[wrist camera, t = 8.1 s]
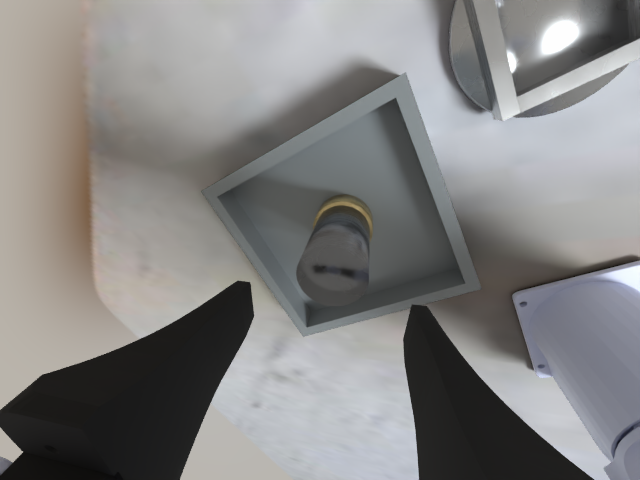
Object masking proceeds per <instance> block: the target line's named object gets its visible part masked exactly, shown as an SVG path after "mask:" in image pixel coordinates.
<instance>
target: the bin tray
mask: <svg viewBox="0 0 640 480" xmlns="http://www.w3.org/2000/svg"><path fill="white" fill-rule="evenodd" d="M201 192H202V194H203V195H204V196H205V198H206V199H207V201H208V202H209V203H210V205H211V206H212V208H213V209H214V211H215V212H216V213H217V215H218V216H219V218H220V219H221V221H222V222H223V223H224V225H225V226H226V228H227V229H228V230H229V232H230V233H231V235H232V236H233V238H234V239H235V240H236V242H237V243H238V245H239V246H240V248H241V249H242V250H243V252H244V253H245V255H246V256H247V257H248V259H249V260H250V262H251V263H252V265H253V266H254V267H255V269H256V270H257V272H258V273H259V275H260V276H261V277H262V279H263V280H264V282H265V283H266V285H267V286H268V287H269V289H270V290H271V292H272V293H273V294H274V296H275V297H276V299H277V300H278V302H279V303H280V304H281V306H282V307H283V309H284V310H285V312H286V313H287V314H288V316H289V317H290V319H291V320H292V321H293V323H294V324H295V326H296V327H297V329H298V330H299V331H300V333H301V334H302V336H303V337H304V336H308V335H311V334H315V333H319V332H323V331H326V330H330V329H334V328H338V327H341V326H345V325H349V324H353V323H356V322H360V321H364V320H368V319H371V318H375V317H379V316H383V315H386V314H390V313H394V312H398V311H401V310H405V309H409V308H411V306H412V304H413V305H424V304H428V303H431V302H435V301H439V300H443V299H446V298H450V297H454V296H458V295H461V294H465V293H469V292H473V291H476V290H480V289H482V288H481V285H480V282H479V280H478V277H477V274H476V271H475V268H474V265H473V263H472V260H471V257H470V254H469V251H468V248H467V245H466V243H465V240H464V237H463V234H462V231H461V228H460V226H459V223H458V220H457V217H456V214H455V211H454V208H453V206H452V203H451V200H450V197H449V194H448V191H447V188H446V186H445V183H444V180H443V177H442V174H441V171H440V169H439V166H438V163H437V160H436V157H435V154H434V151H433V149H432V146H431V143H430V140H429V137H428V134H427V132H426V129H425V126H424V123H423V120H422V117H421V114H420V112H419V109H418V106H417V103H416V100H415V97H414V94H413V92H412V89H411V86H410V83H409V80H408V77H407V75H406V72H405V73H404V74H402V75H400V76H398V77H397V78H395V79H393V80H392V81H390V82H388V83H386V84H385V85H383V86H381V87H380V88H378V89H376V90H374V91H373V92H371V93H369V94H367V95H366V96H364V97H362V98H361V99H359V100H357V101H355V102H354V103H352V104H350V105H349V106H347V107H345V108H343V109H342V110H340V111H338V112H337V113H335V114H333V115H331V116H330V117H328V118H326V119H324V120H323V121H321V122H319V123H318V124H316V125H314V126H312V127H311V128H309V129H307V130H306V131H304V132H302V133H300V134H299V135H297V136H295V137H294V138H292V139H290V140H288V141H287V142H285V143H283V144H282V145H280V146H278V147H276V148H275V149H273V150H271V151H269V152H268V153H266V154H264V155H263V156H261V157H259V158H257V159H256V160H254V161H252V162H251V163H249V164H247V165H245V166H244V167H242V168H240V169H239V170H237V171H235V172H233V173H232V174H230V175H228V176H226V177H225V178H223V179H221V180H220V181H218V182H216V183H214V184H213V185H211V186H209V187H208V188H206V189H204V190H202V191H201ZM342 194H347V195H352V196H355V197H358V198H359V199H361V200H362V201H364V202H365V203H366V204H367V206H368V207H369V209H370V210H371V213H372V217H373V235H372V239H371V241H370V248H369V284H368V287H367V290H366V291H365V293H364V294H363V296H362V297H361V298H360V299H358V300H357V301H355V302H353V303H351V304H348V305H345V306H328V305H323V304H320V303H318V302H316V301H314V300H312V299H311V298H309V297H308V296H307V295H306V294H305V293H304V292H303V290H302V289H301V288H300V286H299V284H298V281H297V277H296V269H297V265H298V263H299V261H300V258H301V256H302V254H303V252H304V249H305V247H306V245H307V243H308V240H309V238H310V236H311V234H312V231H313V223H314V220H315V217H316V215H317V213H318V211H319V209H320V207H321V206H322V204H323V203H324V202H325V201H326V200H328V199H329V198H331V197H333V196H336V195H342Z"/></svg>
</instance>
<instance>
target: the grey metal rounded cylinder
mask: <svg viewBox="0 0 640 480" xmlns="http://www.w3.org/2000/svg"><path fill="white" fill-rule="evenodd" d="M372 235H373V217H372V213H371V210H370V209H369V207H368V206H367V204H366V203H365V202H364V201H362V200H361V199H359V198H358V197H355V196H352V195H347V194H342V195H336V196H333V197H331V198H329V199H328V200H326V201H325V202H324V203H323V204H322V206H321V207H320V209H319V211H318V213H317V215H316V217H315V220H314V223H313V231H312V234H311V236H310V238H309V240H308V243H307V245H306V247H305V249H304V252H303V254H302V256H301V258H300V261H299V263H298V265H297V269H296V277H297V281H298V284H299V286H300V288H301V289H302V290H303V292H304V293H305V294H306V295H307V296H308V297H309V298H311V299H312V300H314V301H316V302H318V303H320V304H323V305H328V306H345V305H348V304H351V303H353V302H355V301H357V300H358V299H360V298H361V297H362V296H363V294H364V293H365V291H366V290H367V287H368V284H369V248H370V241H371V239H372Z"/></svg>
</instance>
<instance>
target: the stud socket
mask: <svg viewBox="0 0 640 480" xmlns="http://www.w3.org/2000/svg"><path fill="white" fill-rule="evenodd" d="M448 46H449V57H450V62H451V66H452V70H453V73H454V75H455V78H456V80H457V82H458V84H459V86H460V88H461V89H462V90H463V92H464V93H465V94H466V95H467V97H468V98H469V99H471V100H472V101H473V102H474V103H475V104H477V105H478V106H480V107H481V108H483V109H485V110H487V111H489V112H492V114H493V118H494V120H500V121H504V120H506V119H508V118H510V117H535V116H542V115H546V114H550V113H554V112H557V111H560V110H562V109H565V108H568V107H570V106H572V105H574V104H576V103H578V102H580V101H582V100H584V99H586V98H587V97H589V96H590V95H592V94H594V93H595V92H597V91H598V90H600V89H601V88H602V87H604V86H605V85H606V84H608V83H609V82H610V81H611V80H612V79H614V78H615V77H616V76H617V75H618V74H619V73H620V72H621V71H623V70H624V68H625V67H626V66H627V65H628V64H629V63H631V62H633V61H635V60H637V59H639V58H640V0H455V3H454V7H453V11H452V15H451V20H450V27H449V41H448Z"/></svg>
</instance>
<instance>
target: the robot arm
mask: <svg viewBox="0 0 640 480" xmlns="http://www.w3.org/2000/svg"><path fill="white" fill-rule="evenodd" d="M512 299H513V302H514V306H515V309H516V312H517V315H518V319H519V322H520V325H521V329H522V332H523V335H524V338H525V342H526V345H527V348H528V352H529V355H530V358H531V361H532V365H533V368H534V371H535V373H536V375H537V376H538V377H541V378H546V377H553V378H554V380H555V381H556V383H557V384H558V386H559V387H560V389H561V390H562V392H563V394H564V395H565V397H566V398H567V400H568V401H569V403H570V404H571V406H572V407H573V409H574V411H575V412H576V414H577V415H578V417H579V418H580V420H581V421H582V423H583V424H584V426H585V428H586V429H587V431H588V432H589V434H590V435H591V437H592V438H593V440H594V441H595V443H596V445H597V446H598V447H599V449H600V450H601V451H602V453H603V454H604V455H605V456H606V457H607V458H608V459H609V460H610V461H611V463H610V464H609V465H607V466H605V467H604V470H605V472H606V474H607V475H608V477H609V478H610V480H640V261H636V262H632V263H628V264H624V265H620V266H616V267H612V268H608V269H604V270H600V271H596V272H592V273H588V274H584V275H580V276H576V277H572V278H569V279H565V280H561V281H557V282H553V283H549V284H545V285H541V286H537V287H533V288H529V289H525V290H521V291H517V292H515V293H514V294H513V295H512ZM521 302H524V303H521ZM253 317H254V311H253V302H252V293H251V284H250V282H244V281H237V282H235V283H233V284H232V285H230V286H229V287H228V288H226V289H225V290H223V291H222V292H220V293H219V294H217V295H216V296H214V297H213V298H211V299H210V300H208V301H207V302H205V303H204V304H203V305H201V306H199V307H198V308H196V309H195V310H193V311H191V312H190V313H188V314H186V315H185V316H183V317H182V318H180V319H178V320H177V321H175V322H173V323H171V324H169V325H168V326H166V327H164V328H162V329H160V330H158V331H156V332H154V333H152V334H150V335H148V336H146V337H144V338H141V339H139V340H137V341H135V342H133V343H130V344H128V345H126V346H124V347H121V348H119V349H116V350H114V351H111V352H109V353H106V354H104V355H101V356H98V357H96V358H93V359H91V360H87V361H85V362H82V363H79V364H76V365H72V366H69V367H66V368H63V369H60V370H57V371H53V372H50V373H47V374H43V375H42V376H40V377H39V378H38V379H37V380H36V381H34V382H33V383H32V384H31V385H30V386H28V387H27V388H26V389H25V390H24V391H22V392H21V393H20V394H19V395H18V396H17V397H15V398H14V399H13V400H12V401H10V402H9V403H8V404H7V405H6V406H4V407H3V408H2V409H1V410H0V427H1V428H2V430H3V431H4V432H5V433H6V434H7V435H8V436H9V437H10V438H11V440H12V441H13V442H14V443H15V444H16V445H17V446H18V447H19V448H20V449H21V450H22V451H23V453H22V454H21V455H20V456H19V457H18V458H17V459H16V460H15V461H14V462H13V463H12V462H11V461H9V460H7V459H5V458H3V457H0V480H180V477H181V474H182V472H183V469H184V466H185V464H186V461H187V458H188V456H189V454H190V451H191V448H192V446H193V443H194V441H195V438H196V436H197V434H198V431H199V429H200V426H201V424H202V422H203V419H204V416H205V414H206V412H207V410H208V407H209V405H210V403H211V401H212V399H213V396H214V394H215V392H216V390H217V388H218V386H219V384H220V382H221V380H222V378H223V376H224V375H225V373H226V371H227V369H228V368H229V366H230V364H231V362H232V360H233V359H234V357H235V355H236V353H237V352H238V350H239V348H240V346H241V344H242V343H243V341H244V339H245V337H246V335H247V333H248V330H249V328H250V325H251V323H252V320H253ZM403 341H404V361H405V368H406V374H407V380H408V386H409V392H410V397H411V403H412V409H413V415H414V422H415V429H416V441H417V454H418V468H419V480H594V479H593V478H591V477H590V476H589V475H587V474H586V473H585V472H584V471H582V470H581V469H580V468H578V467H577V466H576V465H575V464H573V463H572V462H571V461H569V460H568V459H567V458H566V457H564V456H563V455H562V454H561V453H560V452H558V451H557V450H556V449H555V448H554V447H553V446H551V445H550V444H549V443H548V442H547V441H545V440H544V439H543V438H542V437H541V436H540V435H538V434H537V433H536V432H535V431H534V430H533V429H532V428H531V427H529V426H528V425H527V424H526V423H525V422H524V421H523V420H522V419H521V418H520V417H519V416H518V415H517V414H515V413H514V412H513V411H512V410H511V409H510V408H509V407H508V406H507V405H506V404H505V403H504V402H503V401H502V400H501V399H500V398H499V397H498V396H497V395H496V394H495V393H494V392H493V391H492V390H491V389H490V388H489V386H488V385H487V384H486V383H485V382H484V381H483V380H482V379H481V378H480V377H479V376H478V374H477V373H476V372H475V371H474V370H473V369H472V367H471V366H470V365H469V364H468V362H467V361H466V360H465V359H464V358H463V356H462V355H461V354H460V352H459V351H458V350H457V348H456V347H455V346H454V344H453V343H452V342H451V340H450V339H449V338H448V336H447V335H446V333H445V332H444V331H443V329H442V328H441V326H440V325H439V323H438V322H437V320H436V319H435V317H434V316H433V314H432V313H431V311H430V310H429V308H428V307H427V306H421V305H413V304H412V306H411V310H410V314H409V318H408V322H407V326H406V330H405V334H404V339H403Z"/></svg>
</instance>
